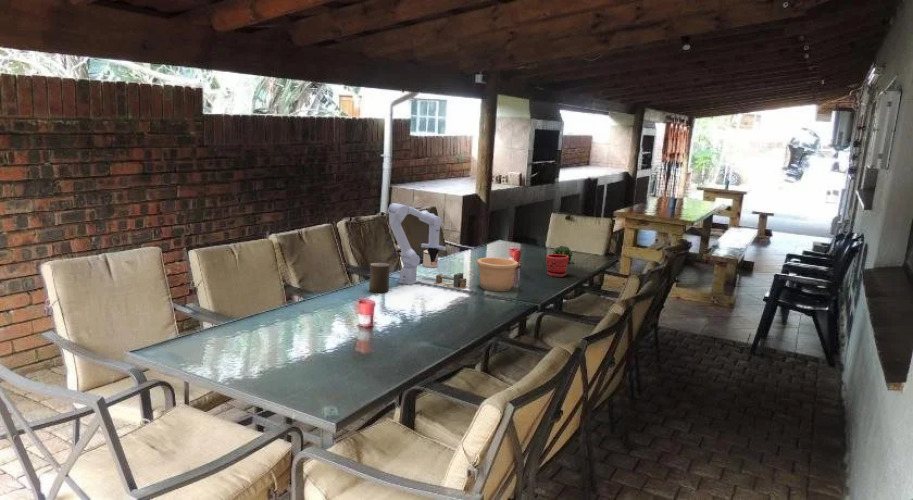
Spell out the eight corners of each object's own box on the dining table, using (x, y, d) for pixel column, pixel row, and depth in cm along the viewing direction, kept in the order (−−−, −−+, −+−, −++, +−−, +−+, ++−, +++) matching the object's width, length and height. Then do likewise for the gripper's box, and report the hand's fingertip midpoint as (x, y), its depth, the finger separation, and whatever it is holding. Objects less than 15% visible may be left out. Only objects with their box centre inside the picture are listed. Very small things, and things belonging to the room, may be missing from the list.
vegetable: (550, 261, 419) (548, 247, 431) (561, 274, 425) (559, 260, 437) (566, 252, 414) (564, 238, 426) (577, 265, 420) (575, 251, 432)
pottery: (468, 288, 347) (470, 261, 344) (486, 280, 366) (487, 255, 363) (506, 294, 337) (507, 267, 334) (522, 286, 356) (524, 261, 354)
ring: (462, 284, 350) (463, 273, 349) (457, 286, 345) (458, 275, 344) (458, 284, 352) (459, 272, 350) (453, 286, 346) (453, 274, 345)
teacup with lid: (432, 268, 390) (433, 249, 388) (419, 266, 394) (420, 247, 392) (442, 265, 401) (443, 246, 398) (430, 263, 405) (431, 244, 403)
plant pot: (566, 273, 396) (568, 254, 394) (567, 278, 383) (569, 258, 381) (544, 272, 397) (546, 252, 395) (545, 276, 384) (546, 256, 382)
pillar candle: (385, 294, 325) (386, 264, 323) (366, 292, 327) (367, 262, 324) (391, 289, 334) (392, 261, 332) (372, 287, 336) (374, 259, 334)
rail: (467, 286, 349) (468, 278, 348) (462, 289, 344) (462, 280, 343) (439, 282, 357) (440, 273, 356) (434, 284, 351) (434, 275, 351)
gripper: (449, 238, 358) (447, 262, 361) (426, 234, 365) (425, 258, 367) (442, 239, 352) (441, 264, 355) (419, 236, 359) (418, 260, 361)
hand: (432, 261), depth 360 cm, fingers closed
